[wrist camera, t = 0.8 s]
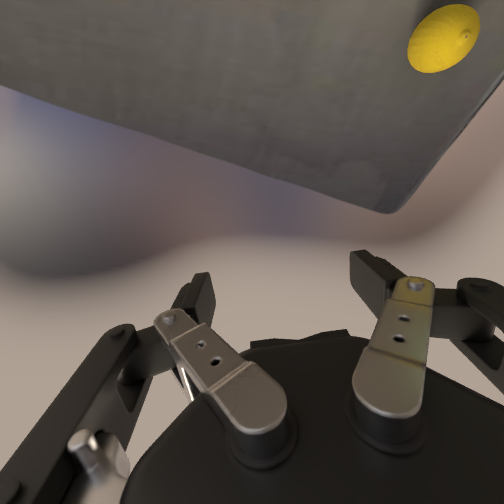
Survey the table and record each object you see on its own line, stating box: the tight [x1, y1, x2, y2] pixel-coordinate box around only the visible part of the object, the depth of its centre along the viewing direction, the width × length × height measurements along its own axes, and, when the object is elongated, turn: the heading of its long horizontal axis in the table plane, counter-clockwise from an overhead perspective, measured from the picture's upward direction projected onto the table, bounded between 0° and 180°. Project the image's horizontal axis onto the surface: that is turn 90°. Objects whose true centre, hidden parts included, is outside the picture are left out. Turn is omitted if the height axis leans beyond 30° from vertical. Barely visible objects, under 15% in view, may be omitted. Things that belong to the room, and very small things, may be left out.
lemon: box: [407, 4, 480, 73], centre depth 26 cm, size 6×6×8 cm
